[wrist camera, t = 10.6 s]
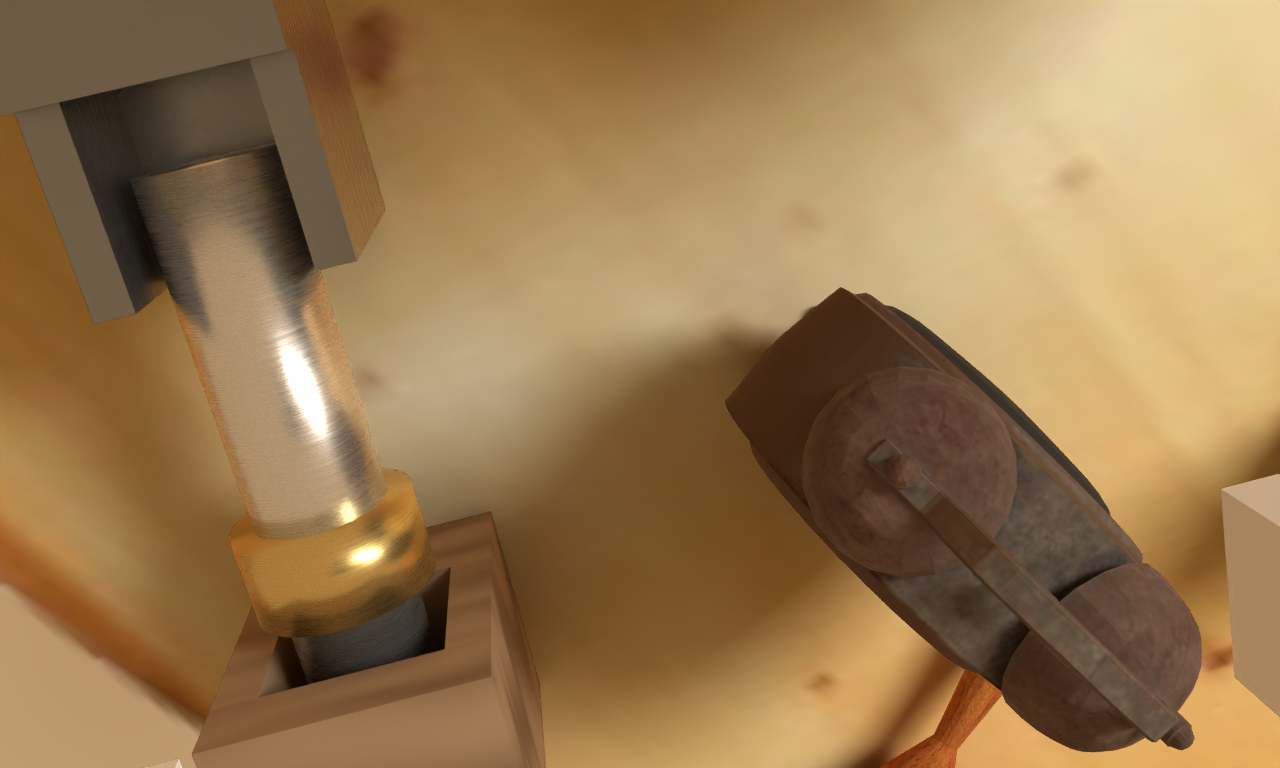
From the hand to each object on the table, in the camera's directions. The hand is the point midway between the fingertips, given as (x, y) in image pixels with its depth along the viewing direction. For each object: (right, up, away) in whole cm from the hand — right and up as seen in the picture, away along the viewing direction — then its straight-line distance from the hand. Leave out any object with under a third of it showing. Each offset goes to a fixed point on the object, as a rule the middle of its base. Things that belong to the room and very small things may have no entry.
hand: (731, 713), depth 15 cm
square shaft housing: (-15, +15, +27) cm, 34 cm away
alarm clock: (+8, +3, +34) cm, 35 cm away
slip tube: (-12, +3, +27) cm, 29 cm away
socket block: (-11, -6, +34) cm, 36 cm away
